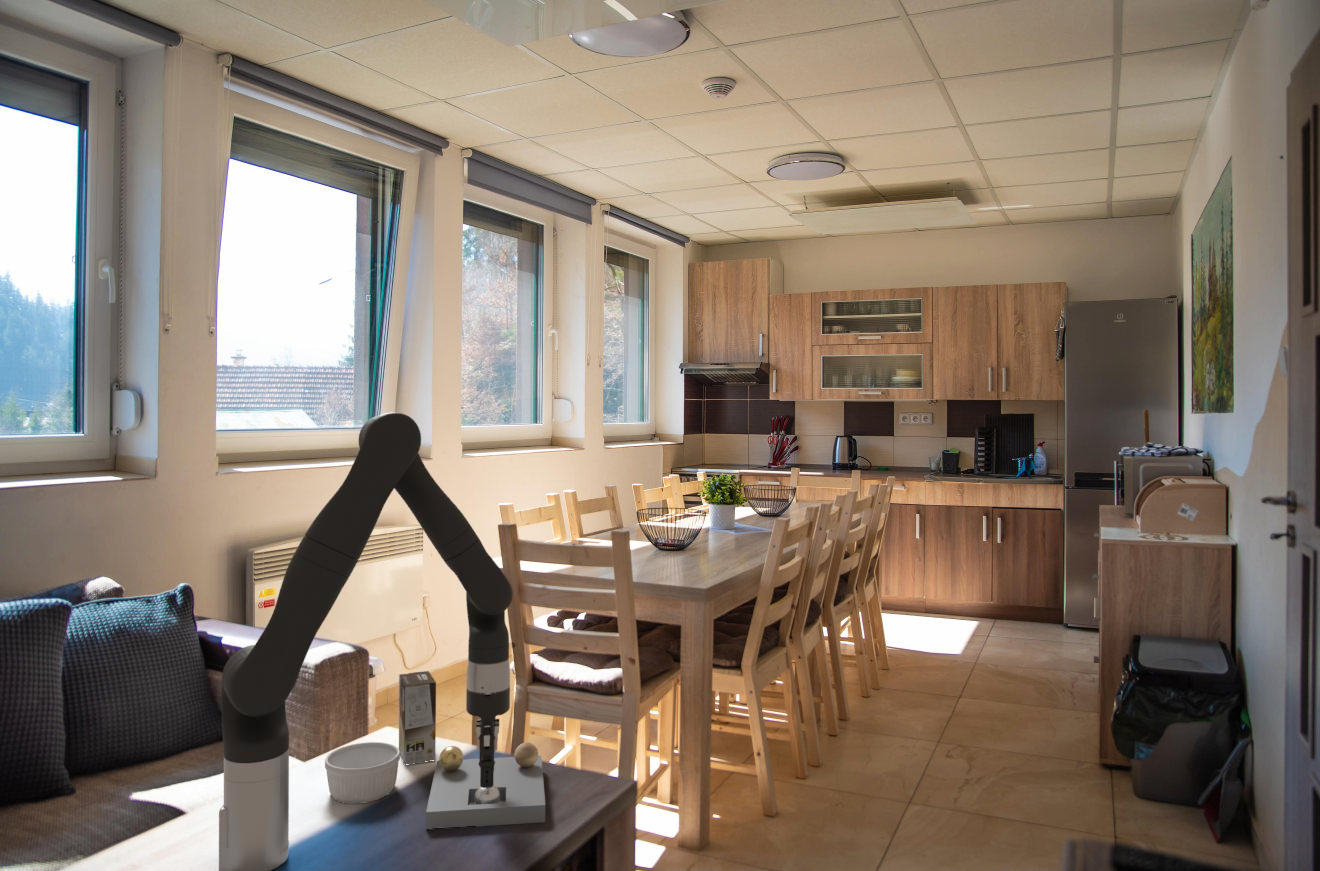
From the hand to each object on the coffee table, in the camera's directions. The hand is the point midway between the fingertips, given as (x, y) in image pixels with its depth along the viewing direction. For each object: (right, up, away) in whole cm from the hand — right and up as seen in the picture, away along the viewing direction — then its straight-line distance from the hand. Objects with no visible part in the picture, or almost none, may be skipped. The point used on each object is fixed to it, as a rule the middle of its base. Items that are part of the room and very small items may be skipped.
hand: (487, 779), depth 153 cm
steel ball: (0, -3, 0) cm, 3 cm away
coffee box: (-20, -5, +25) cm, 32 cm away
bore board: (-1, -6, +6) cm, 8 cm away
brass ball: (-9, 0, +11) cm, 14 cm away
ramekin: (-25, -6, +8) cm, 27 cm away
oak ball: (+5, 0, +13) cm, 14 cm away
